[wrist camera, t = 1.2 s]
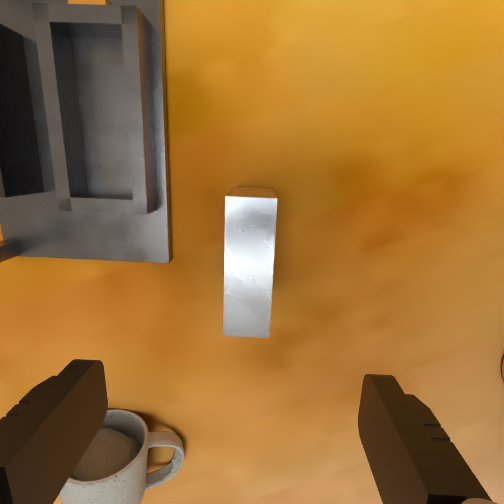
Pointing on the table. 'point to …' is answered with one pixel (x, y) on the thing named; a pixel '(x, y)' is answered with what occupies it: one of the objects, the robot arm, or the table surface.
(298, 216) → the table surface
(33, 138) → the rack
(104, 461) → the ceramic mug
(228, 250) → the grey rectangular block
